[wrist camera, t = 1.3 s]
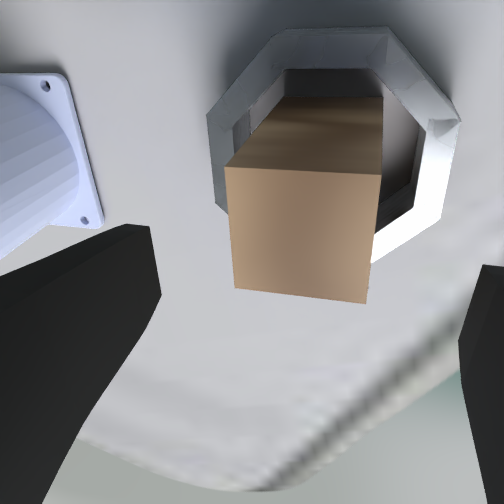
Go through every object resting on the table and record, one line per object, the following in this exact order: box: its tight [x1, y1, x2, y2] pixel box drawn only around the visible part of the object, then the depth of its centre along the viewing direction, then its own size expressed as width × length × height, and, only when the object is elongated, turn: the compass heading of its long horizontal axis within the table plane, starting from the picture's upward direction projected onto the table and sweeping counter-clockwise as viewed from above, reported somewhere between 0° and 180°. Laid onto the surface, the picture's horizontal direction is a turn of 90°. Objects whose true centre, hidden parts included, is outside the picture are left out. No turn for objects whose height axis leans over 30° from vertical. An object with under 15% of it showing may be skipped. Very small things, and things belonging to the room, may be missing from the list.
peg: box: [224, 97, 383, 304], centre depth 15 cm, size 4×4×8 cm
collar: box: [206, 26, 461, 263], centre depth 17 cm, size 9×9×2 cm
